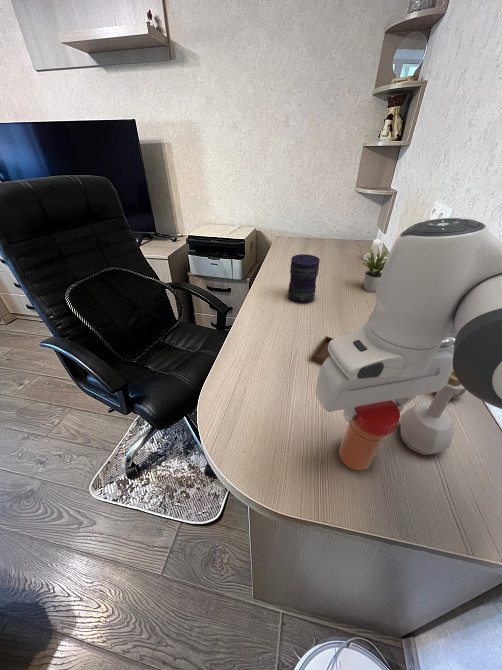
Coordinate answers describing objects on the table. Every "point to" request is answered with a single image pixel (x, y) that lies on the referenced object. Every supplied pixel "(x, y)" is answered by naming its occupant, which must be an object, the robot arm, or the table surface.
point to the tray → (322, 351)
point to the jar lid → (378, 418)
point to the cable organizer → (375, 250)
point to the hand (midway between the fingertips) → (371, 413)
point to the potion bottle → (430, 421)
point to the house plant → (374, 270)
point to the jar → (358, 447)
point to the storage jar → (303, 278)
